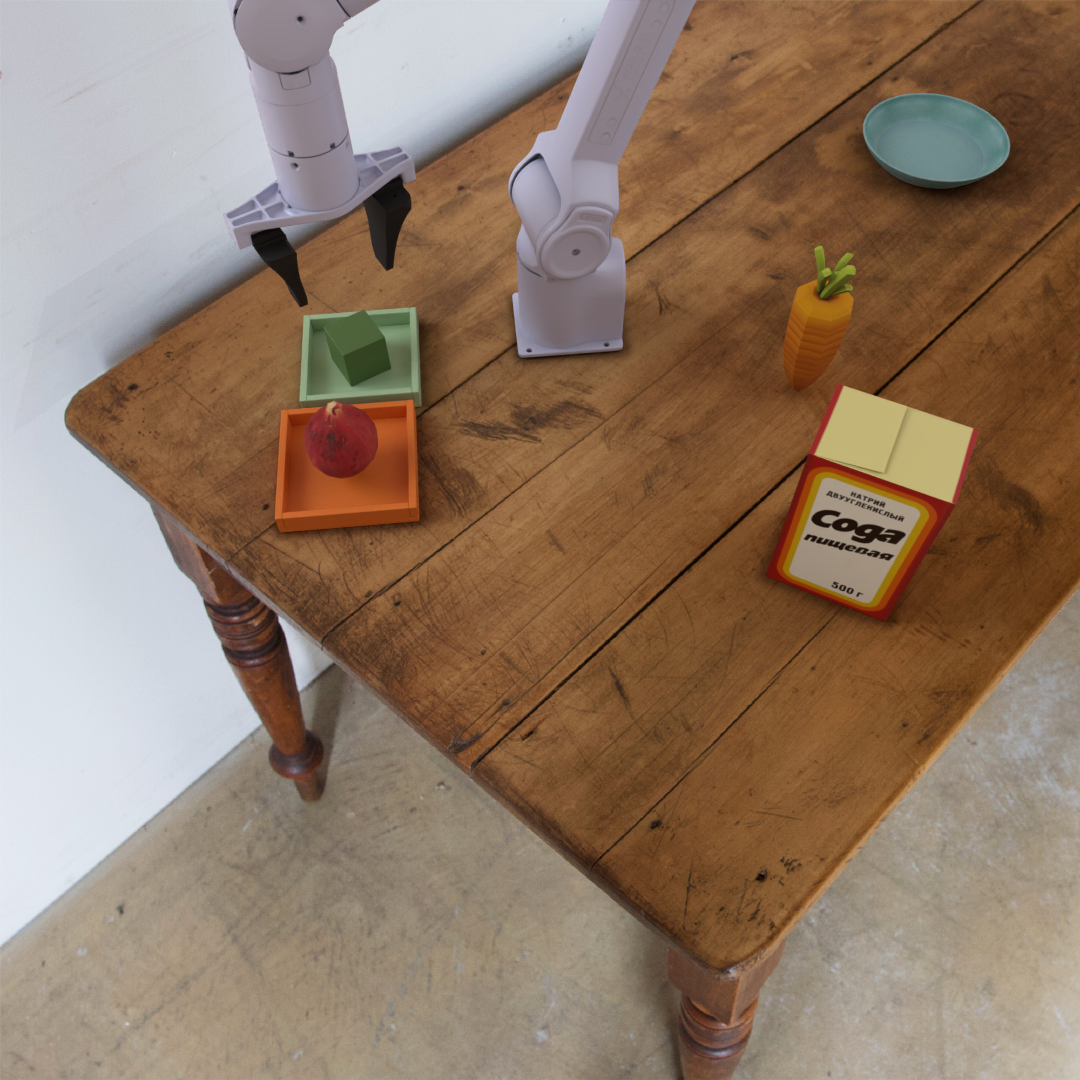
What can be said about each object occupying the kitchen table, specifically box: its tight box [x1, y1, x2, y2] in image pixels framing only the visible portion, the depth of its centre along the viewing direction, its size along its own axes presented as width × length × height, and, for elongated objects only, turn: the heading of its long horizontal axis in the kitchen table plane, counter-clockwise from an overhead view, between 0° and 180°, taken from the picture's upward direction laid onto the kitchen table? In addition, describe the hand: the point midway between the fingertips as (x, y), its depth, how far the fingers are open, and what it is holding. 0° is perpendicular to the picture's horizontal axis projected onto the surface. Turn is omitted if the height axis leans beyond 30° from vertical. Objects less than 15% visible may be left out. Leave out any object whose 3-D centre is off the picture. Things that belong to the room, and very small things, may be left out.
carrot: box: [782, 245, 857, 392], centre depth 81 cm, size 5×5×15 cm
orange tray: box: [274, 400, 420, 534], centre depth 82 cm, size 11×11×2 cm
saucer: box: [862, 92, 1011, 190], centre depth 103 cm, size 15×15×3 cm
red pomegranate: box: [304, 401, 378, 479], centre depth 79 cm, size 6×6×8 cm
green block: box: [323, 309, 391, 387], centre depth 87 cm, size 4×4×4 cm
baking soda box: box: [764, 383, 980, 623], centre depth 71 cm, size 10×6×16 cm
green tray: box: [299, 306, 422, 408], centre depth 88 cm, size 10×10×2 cm
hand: (342, 280), depth 81 cm, fingers open, 7 cm apart
